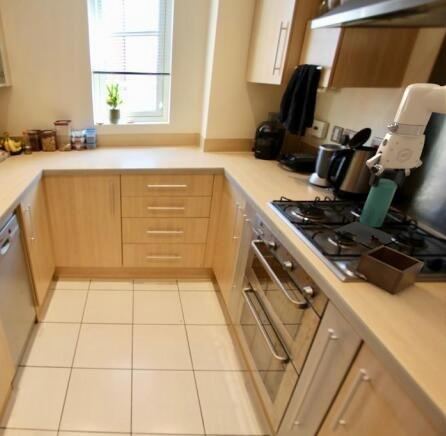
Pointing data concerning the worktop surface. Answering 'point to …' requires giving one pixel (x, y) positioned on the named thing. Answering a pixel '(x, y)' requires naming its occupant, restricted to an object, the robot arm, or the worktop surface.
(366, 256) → the open box
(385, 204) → the beverage bottle
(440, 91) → the robot arm
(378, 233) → the mat
